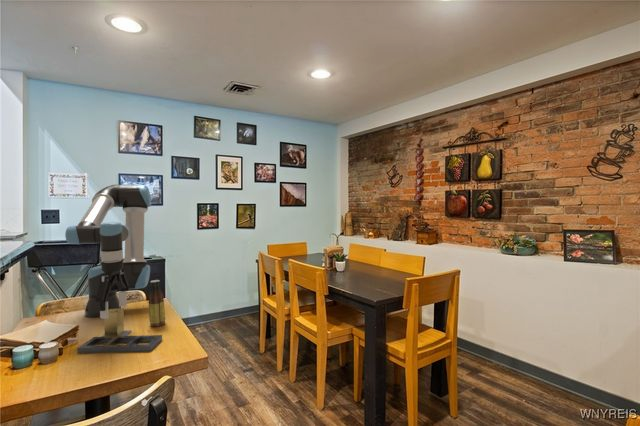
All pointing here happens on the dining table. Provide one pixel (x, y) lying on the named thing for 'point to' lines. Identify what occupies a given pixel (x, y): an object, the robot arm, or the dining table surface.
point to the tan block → (114, 323)
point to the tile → (122, 333)
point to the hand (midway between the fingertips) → (114, 312)
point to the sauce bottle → (156, 305)
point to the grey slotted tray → (112, 347)
